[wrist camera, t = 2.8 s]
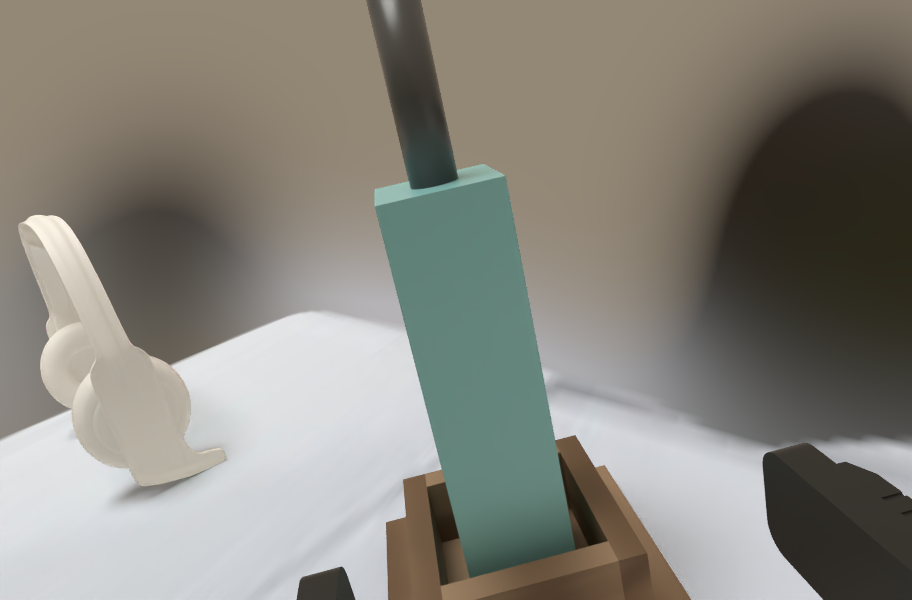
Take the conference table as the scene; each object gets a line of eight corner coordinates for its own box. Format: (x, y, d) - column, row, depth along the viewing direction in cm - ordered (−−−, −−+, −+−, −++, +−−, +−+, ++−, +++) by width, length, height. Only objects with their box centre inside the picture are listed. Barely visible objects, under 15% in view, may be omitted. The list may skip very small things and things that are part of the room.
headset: (65, 431, 53) (-31, 226, 48) (151, 394, 57) (72, 200, 52) (118, 523, 38) (-14, 236, 32) (231, 463, 42) (130, 199, 36)
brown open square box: (399, 759, 21) (368, 666, 19) (391, 539, 31) (370, 470, 30) (722, 668, 21) (712, 572, 20) (607, 482, 32) (595, 411, 30)
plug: (481, 623, 24) (318, -13, 17) (466, 551, 28) (328, 8, 21) (584, 595, 24) (464, -45, 17) (555, 528, 28) (447, -18, 21)
